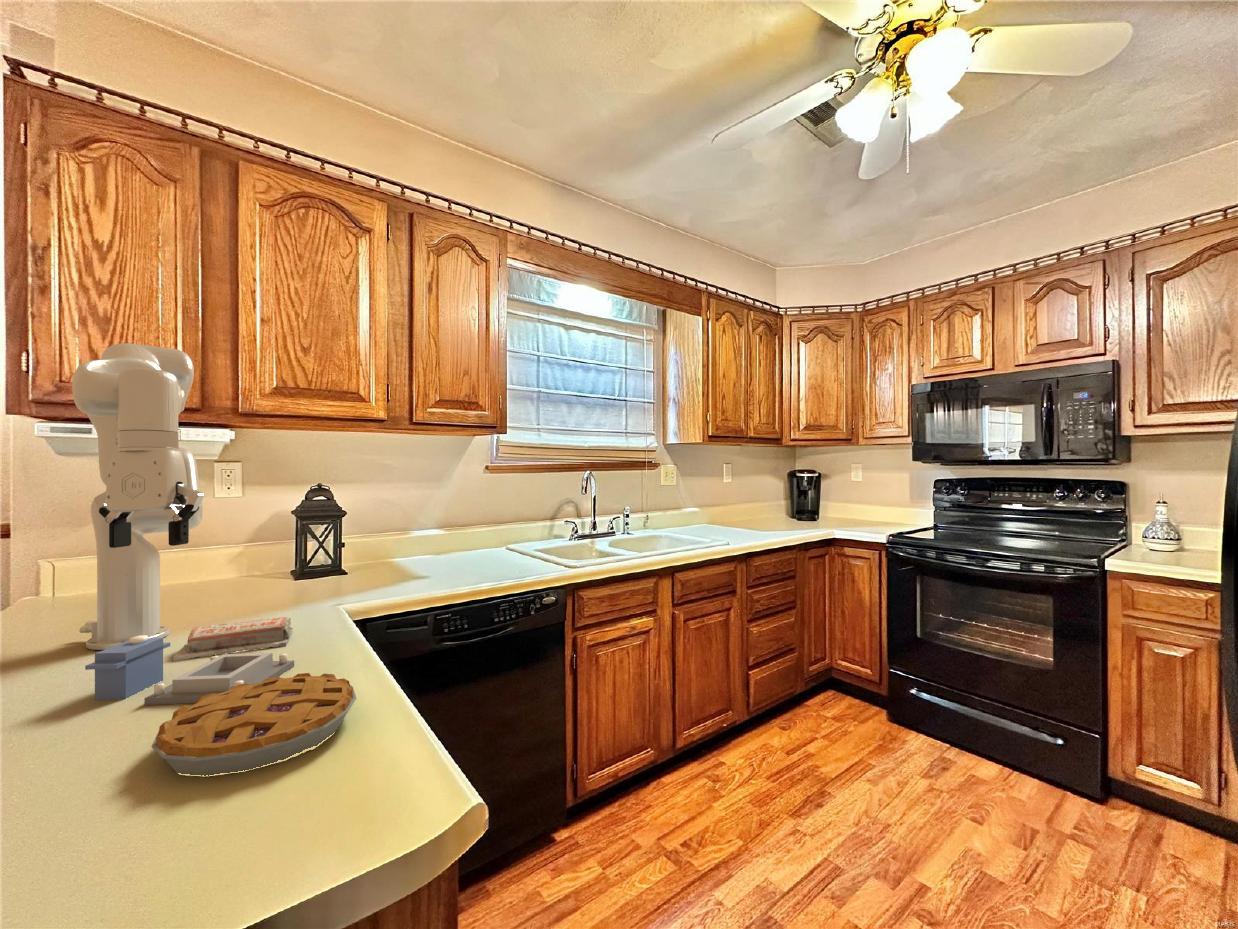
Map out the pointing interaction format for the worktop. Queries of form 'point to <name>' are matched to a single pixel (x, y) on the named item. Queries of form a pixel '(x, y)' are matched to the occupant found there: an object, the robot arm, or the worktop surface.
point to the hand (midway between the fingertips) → (149, 545)
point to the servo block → (128, 667)
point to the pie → (254, 724)
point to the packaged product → (235, 637)
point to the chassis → (219, 677)
